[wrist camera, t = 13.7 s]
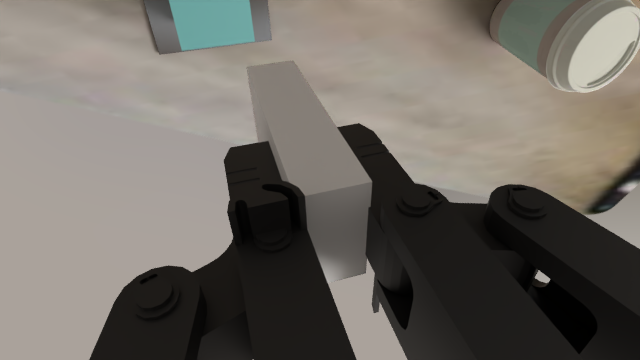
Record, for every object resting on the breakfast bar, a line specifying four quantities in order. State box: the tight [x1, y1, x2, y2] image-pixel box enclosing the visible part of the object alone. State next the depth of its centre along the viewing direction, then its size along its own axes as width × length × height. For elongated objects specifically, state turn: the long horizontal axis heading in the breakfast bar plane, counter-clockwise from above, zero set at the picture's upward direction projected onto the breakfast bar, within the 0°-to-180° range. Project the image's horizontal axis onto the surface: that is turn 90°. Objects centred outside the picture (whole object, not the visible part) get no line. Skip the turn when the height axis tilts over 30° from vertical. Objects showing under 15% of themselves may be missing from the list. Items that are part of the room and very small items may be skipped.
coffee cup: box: [490, 0, 640, 93], centre depth 37 cm, size 8×8×12 cm
